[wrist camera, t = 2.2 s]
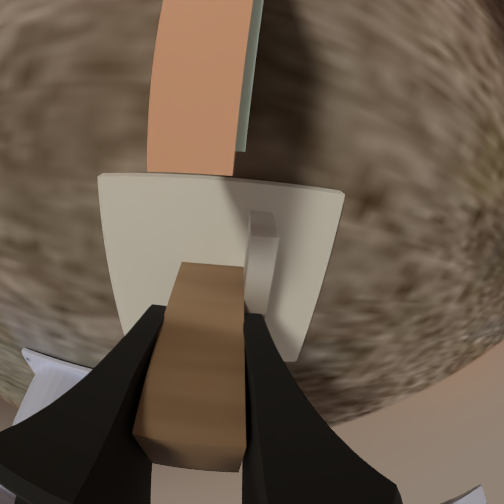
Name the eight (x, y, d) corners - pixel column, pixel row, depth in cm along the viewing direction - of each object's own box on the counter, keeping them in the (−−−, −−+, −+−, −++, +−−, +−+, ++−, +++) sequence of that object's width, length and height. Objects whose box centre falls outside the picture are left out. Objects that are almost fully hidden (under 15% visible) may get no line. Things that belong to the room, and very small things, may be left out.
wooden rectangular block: (251, 348, 13) (256, 486, 7) (186, 343, 13) (165, 478, 7) (272, 212, 10) (316, 394, 4) (181, 205, 9) (97, 374, 3)
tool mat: (295, 354, 14) (296, 361, 14) (130, 340, 13) (127, 347, 13) (340, 190, 10) (345, 194, 9) (103, 173, 9) (97, 176, 9)
